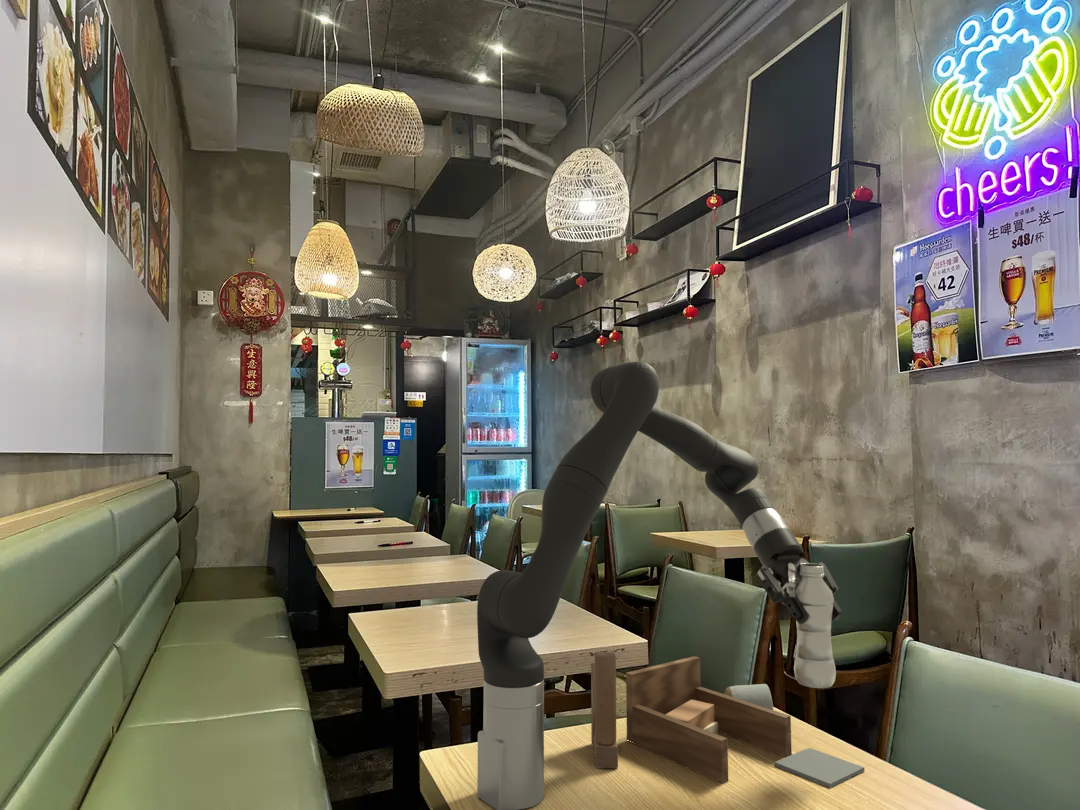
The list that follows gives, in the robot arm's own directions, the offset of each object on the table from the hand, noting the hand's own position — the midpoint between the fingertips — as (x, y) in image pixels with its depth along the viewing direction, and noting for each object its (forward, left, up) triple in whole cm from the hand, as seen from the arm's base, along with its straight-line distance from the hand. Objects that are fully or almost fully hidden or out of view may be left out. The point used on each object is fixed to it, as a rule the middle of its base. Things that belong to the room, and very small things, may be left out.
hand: (821, 619), depth 118 cm
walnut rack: (-8, +17, -24) cm, 31 cm away
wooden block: (-25, +26, -25) cm, 44 cm away
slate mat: (0, +1, -24) cm, 24 cm away
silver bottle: (0, +2, -12) cm, 12 cm away
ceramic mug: (+7, +19, -25) cm, 32 cm away
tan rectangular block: (-9, +21, -25) cm, 34 cm away
